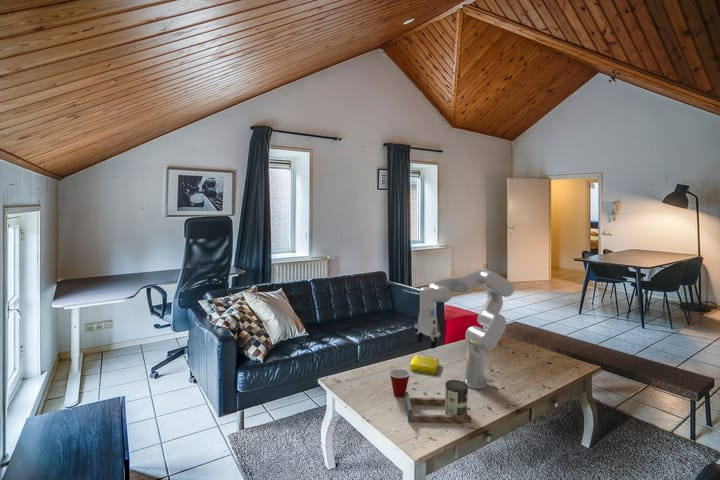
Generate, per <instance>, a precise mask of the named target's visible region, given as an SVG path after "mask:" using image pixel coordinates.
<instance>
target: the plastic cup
mask: <svg viewBox="0 0 720 480" xmlns="http://www.w3.org/2000/svg"><path fill="white" fill-rule="evenodd" d="M388 374H389V377H390V380H391V385H392V391H393V392H392V393H393V395H394V397H396V398H405V392H407V389H408V388H407V387H408V383H409V378H410V376H411V372H410V371H409V370H407V369H403V368H396V369H392V370H390V371H389V372H388Z"/></svg>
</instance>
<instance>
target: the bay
mask: <svg viewBox="0 0 720 480" xmlns="http://www.w3.org/2000/svg"><path fill="white" fill-rule="evenodd" d="M412 406H429V407H430V406H431V407H432V406H433V407H437V406H439V407H441V406H442V407H445V398H442V397H441V398H440V397H438V398H435V397H410V393H409V391H406V392H405V396H404V407H405V412H406V417H407V422H408V423H416V424H417V423H420V424H421V423H422V424H423V423H424V424H465V423H471V424H472V415H470V414H469V415H468V414H467V415H446V414H413V409H412Z"/></svg>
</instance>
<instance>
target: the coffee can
mask: <svg viewBox="0 0 720 480" xmlns="http://www.w3.org/2000/svg"><path fill="white" fill-rule="evenodd" d="M444 385H445V392H444V393H445V395H444V396H445V406H444V415H468V395H469V394H468V392H469V387H468V385H467V384H466V383H465V382H463V380H458V379H450V380H447V381H446V382H444Z"/></svg>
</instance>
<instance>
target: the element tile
mask: <svg viewBox="0 0 720 480" xmlns="http://www.w3.org/2000/svg"><path fill="white" fill-rule="evenodd" d="M439 366H440V358H439V357H434V356H427V355H422V354H421V355H420V354H415V355H414V356H413V358H412V360H411V361H410V364H409V367H410V369H409V370H410V371H413V372H417V373H424V374H430V375H435V374H436V373H437V370H438V369H439Z"/></svg>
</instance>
